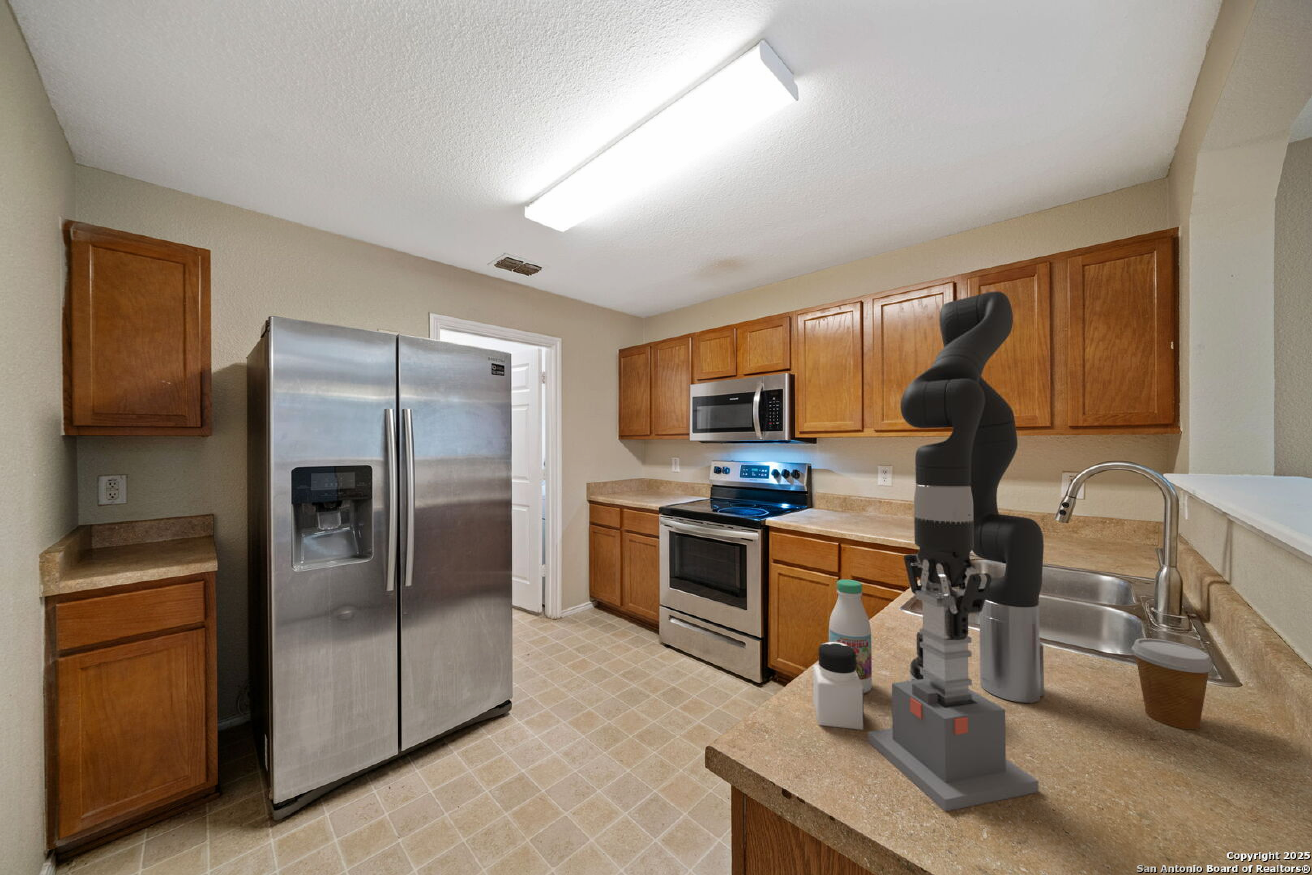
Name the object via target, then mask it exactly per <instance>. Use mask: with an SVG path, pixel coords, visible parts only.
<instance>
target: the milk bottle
mask: <svg viewBox="0 0 1312 875" xmlns="http://www.w3.org/2000/svg"><path fill="white" fill-rule="evenodd" d="M836 589H837V590H836V592H837V594H838V596H837V601H836V603H835V606H834V607H833V610H832V611H831V614H830V618H829V623H828V626H829V627H828V642H838V643H843V644H845V645H848V646H850V647H851V648H853V649H854V651H855V652H856V673H857V675H858V677H859V679H860V681H861V684H862V686H863V694H867V693H868V692H870V691H871V690H872V687H873V686H872V685H873V677H872V676H873V675H872V674H873V670H872V668H873V666H872V663H873V662H872V656H873V654H872V629H871V623H870V619H869V617H868V614H867V612H866V610H865V607H864V605H863V602H862V595H863V584H862V583H861V582H860V581H857V580H853V579H845V578H844V579H839V580H837V582H836Z"/></svg>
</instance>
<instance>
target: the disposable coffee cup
mask: <svg viewBox="0 0 1312 875" xmlns="http://www.w3.org/2000/svg"><path fill="white" fill-rule="evenodd" d="M1131 651H1132V652H1133V654H1134V655H1135V660H1136V666H1137V670H1138V677H1139V681H1140V687H1141V693H1142V698H1143V703H1144V710H1145V713H1146V715H1147V716H1149V717H1150V718H1151V719H1154V720H1156V721H1157V722H1159V723H1162V724H1165V725H1168V726H1171V727H1174V728H1178V729H1183V730H1192V729H1193V730H1198V729H1200V726H1201V719H1202V715H1203V709H1204V702H1205V698H1206V697H1205V696H1206V690H1207V685H1208V684H1207V683H1208V680H1209V673H1210V671H1211V669H1213V667H1214V663H1213V662H1211V660H1210V657H1209V655H1208V654H1207V653H1206V652H1204V651H1203V650H1201V649H1198V648H1196V647H1193V646H1189V645H1186V644H1183V643H1179V642H1174V641H1170V640H1166V639H1158V638H1156V639H1155V638H1149V637H1147V638H1143V637H1142V638H1137V639H1135V641H1134V643H1133V645H1132V646H1131ZM1197 728H1198V729H1197Z"/></svg>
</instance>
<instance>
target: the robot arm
mask: <svg viewBox="0 0 1312 875" xmlns="http://www.w3.org/2000/svg"><path fill="white" fill-rule="evenodd" d="M1013 324H1014V314H1013V308H1012V306H1011V301H1010V299H1009V298H1008V296H1007V295H1006V294H1005V293H1003V292H1002V291H995V290H994V291H989V292H983V293H981V294H976V295H972V296H968V297H964V298H960V299H956V300H952V301H949V302H947V303H944V304H943V305H942V307H941V308H940V311H939V329H940V334H941V335H940V336H941V340H942V343H943V344H942V345H943V348H942V349H941V351H939V353H938V354H937V356H936V357H935V359H934V361H933V363H932V366H931V367H930V368H928V369H926V370H925V371H924V372H922V373H921V374H919V375H918V376H917V377H915V379H913V380H912V381H911V382H910V383H909V384H908V385H907V386H906V388H905V390H904V392H903V394H902V396H901V398H900V407H899V408H900V414H901V416H902V418H903V420H904V421H905V422H906V423H907V424H908V425H909V426H911V427H914V428H916V429H949V428H951V429H952V432H951V434H950V435H949V437H948V438H947V439H945V440H943V441H941V442H936V443H931V444H926V445H925V444H924V445H922V446H920V447H918V448H917V450H916V451H915V458H914V459H915V460H914V461H915V469H914V470H915V490H914V496H913V497H914V498H913V512H914V513H913V518H914V519H913V522H914V523H913V527H914V529H913V530H914V531H913V532H914V544H915V546H917V547H919V548H918V551H917V553H911V554H905V555H903V560H904V565H905V570H906V573H907V577H908V580H909V582H908V583H909V586H910V590H911V593H912V594H914V595H916V590H931V589H943V594H944V595H945V596H946V597H948V598H949V608H950V611H951V613H950V637H951V638H952V639H954V640H963V639H965V638H966V637H967V636H969V615H970V614H974V613H976V614H977V613H979V615H978V616H979V682H980V683H979V684H980V686H981V688H982V689H984V690H985V692H988V693H989V694H991V695H994V696H996V697H999V698H1000V699H1004V700H1006V701H1007V700H1008V701H1012V702H1018V703H1026V704H1027V703H1029V704H1030V703H1036V702H1039V700H1040V699H1041V697H1042V696H1045V675H1044V674H1045V672H1044V671H1045V670H1044V669H1045V668H1044V667H1045V666H1044V665H1045V664H1044V663H1045V662H1044V661H1045V660H1044V645H1043V643H1042V642H1040V594H1041V590H1042V585H1043V568H1044V566H1043V565H1044V564H1043V563H1044V547H1045V546H1044V536H1043V535H1044V534H1043V531H1042V529H1041V527H1040V525H1039V524H1038V522H1036V521H1035V520H1034V519H1032V518H1029V517H1024V516H1023V517H1022V516H1016V515H1008V514H1001V513H999V510H998V488H999V484H1000V481H1002V478H1003V476H1004V475H1005V473H1006V471H1007V469H1008V468H1009V466H1010V464H1011V463H1012V461H1013V459H1014V457H1015V455H1016V453H1017V449H1018V444H1019V443H1018V435H1017V434H1018V432H1017V427H1016V420H1015V413H1014V410H1013V409H1012V407H1011V406H1010V404H1009V403H1008V402H1007V401H1006V400H1005V398H1004V397H1002V396H1001V395H1000V393H998V392H997V391H996V390H995V389H994V387H993V386H991V385H990V384H989V383H988V382H987V381H986V380H985V379H984V378H983V377H982V374H983V372H984V368H985V366H986V364H987V363H988V361H989V360H990V359H991V357H992V356H993V355H994V354H995V353H996V352H997V350H999V348H1000V347H1001V346H1002V345H1003V344H1004V342H1005V341H1006V340H1007V339H1008V337H1009V336H1010V334H1011V332H1012V330H1013V326H1014V325H1013ZM971 552H972V553H974V555H975V556H976V557H978V558H980V559H983V560H987V561H990V562H996V563H1000V564H1003V565H1004V564H1005V571H1004V575H1003V576H1001V577H992V576H991V574H989V573H984V572H983V573H981V572H980V571H978V570H976V568H974V567H973V562H972V560H971V556H970V554H971ZM917 578H918V579H919V582H918V579H917ZM952 588H957V590H953V589H952ZM957 596H959V597H960V604H958V601H957Z"/></svg>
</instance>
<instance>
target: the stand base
mask: <svg viewBox="0 0 1312 875" xmlns="http://www.w3.org/2000/svg"><path fill="white" fill-rule="evenodd" d="M920 682H923V679H920V680H912V681H910V680H907V681H905V680H904V681H898V682H891V701H892V702H891V704H892V708H891V709H892V712H891V713H892V715H891V716H892V718H891V719H892V720H891V722H892V723H891V724H892V727H890V728H883V729H877V730H871V731H867V742H868V743H869V744H870V745H871V746H872V747H874V748H875V750H877V751H878V752H879V753H880V754H881V755H882V756H883V757H884V758H886V760H888V761H889V762H890V763H891V764H892V765H893V766H894V767H896V768H897V769H898V770H899V771H900V772H901V773H902V774H903V775H904V776H905V777H906V778H908V779H909V780H910V781H911V782H912V783H913V784H914V785H916V786H917V787H918V789H920V790H921V791H922V792H923V793H924V794H925V795H926V796H927V797H929V799H931V801H933V802H934V803H935V804H936V805H937V806H939V807H940V809H942V810H943V811H944V812H950V811H954V810H959V809H960V810H961V809H964V808H969V807H974V806H977V805H983V804H989V803H992V802H997V801H1002V800H1007V799H1012V798H1016V797H1017V798H1018V797H1022V796H1027V795H1031V794H1035V793H1039V780H1038V779H1036V778H1035V777H1033V776H1032V775H1030V774H1029V773H1027V771H1024V770H1023V769H1021V768H1020V767H1019V766H1017V765H1016V764H1014V763H1013V762H1011V761H1010V760H1008V759H1007V757H1006V754H1007V753H1006V709H1005V708H1003V707H1002V706H1000V705H998V704H996V703H994V702H993V701H991V700H989V699H987V698H986V697H984V696H982V695H981V694H979V693H977V692H975V691H974V690H972V689H970V688H968V692H969V693H971V694H972V699H969V705H962V706H956V707H949V708H944V707H943V706H941V705H940V704H938V693H937V692H936V691H934V690H933V689H931V688H929V687H928V686H926V685H925V684H923V683H920Z"/></svg>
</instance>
